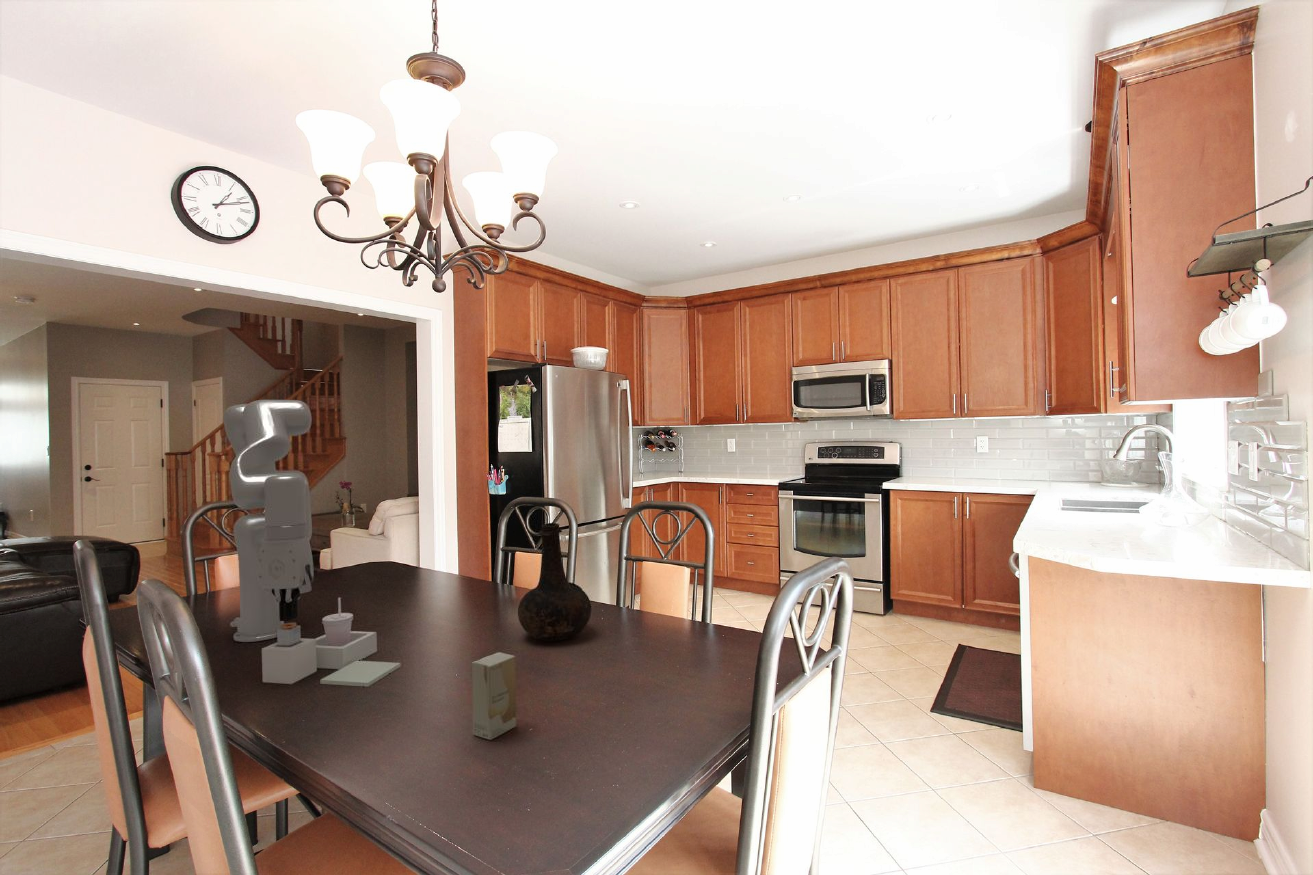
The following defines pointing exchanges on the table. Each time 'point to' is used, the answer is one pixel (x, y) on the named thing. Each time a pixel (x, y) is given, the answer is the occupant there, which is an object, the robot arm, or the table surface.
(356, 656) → the holder
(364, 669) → the coaster
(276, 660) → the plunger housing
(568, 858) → the table surface
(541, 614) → the glass bottle
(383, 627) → the table surface
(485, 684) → the skincare box
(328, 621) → the smoothie
